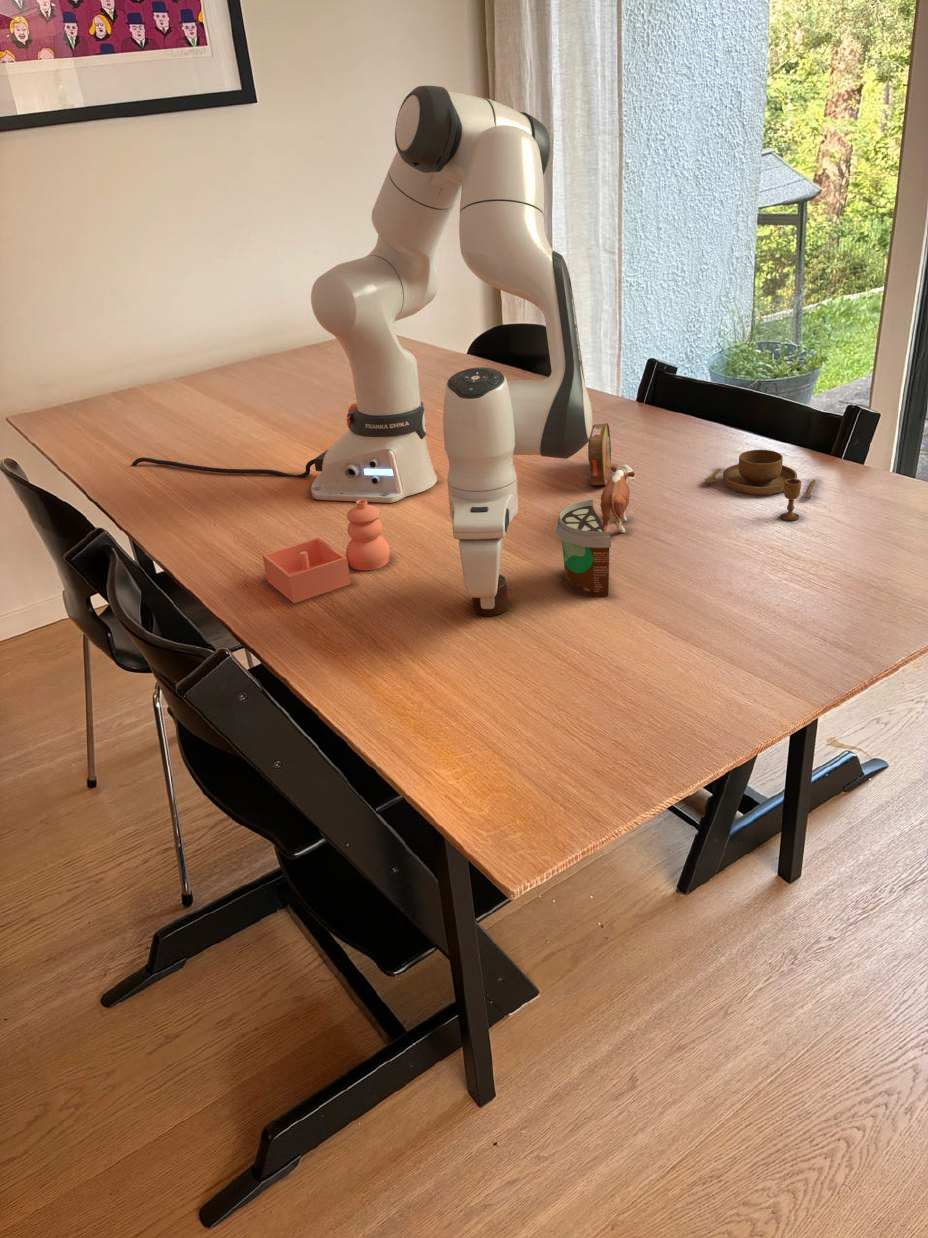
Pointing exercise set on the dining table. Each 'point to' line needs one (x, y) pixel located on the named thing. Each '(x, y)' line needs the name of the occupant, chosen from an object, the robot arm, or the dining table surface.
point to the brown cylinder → (500, 600)
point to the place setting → (764, 478)
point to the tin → (599, 454)
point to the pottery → (328, 558)
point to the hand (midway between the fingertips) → (489, 595)
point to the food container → (584, 549)
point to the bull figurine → (616, 497)
